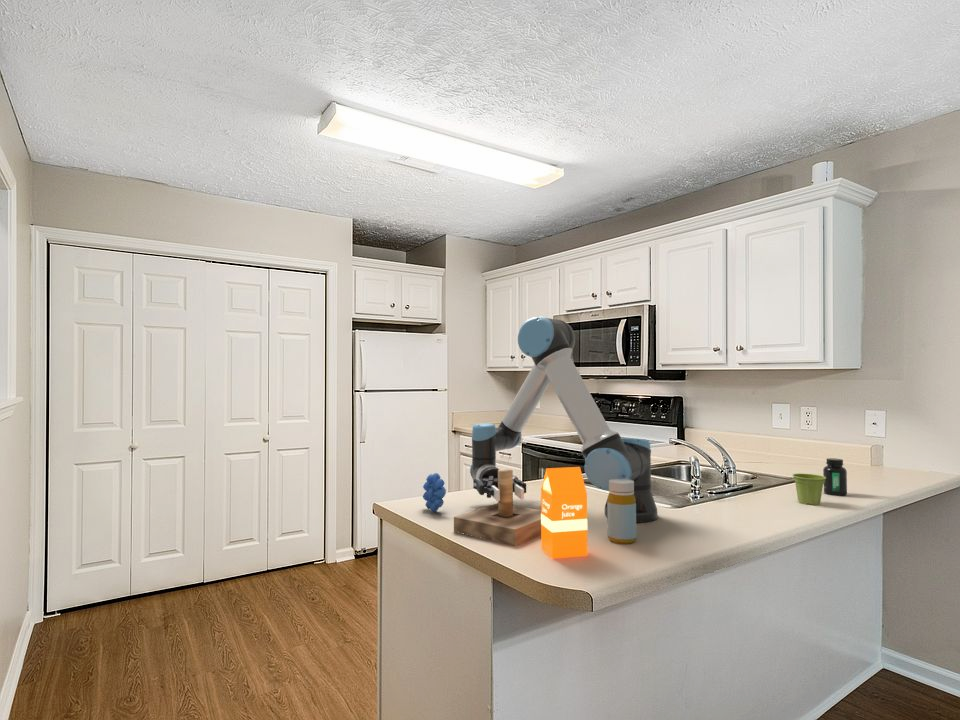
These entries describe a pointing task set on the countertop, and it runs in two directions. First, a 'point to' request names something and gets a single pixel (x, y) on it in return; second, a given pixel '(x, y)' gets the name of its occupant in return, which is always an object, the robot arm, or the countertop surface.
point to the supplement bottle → (835, 478)
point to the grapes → (434, 492)
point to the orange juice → (564, 513)
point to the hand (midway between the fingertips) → (510, 494)
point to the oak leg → (505, 493)
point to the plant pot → (809, 488)
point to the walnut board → (500, 524)
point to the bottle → (621, 511)
